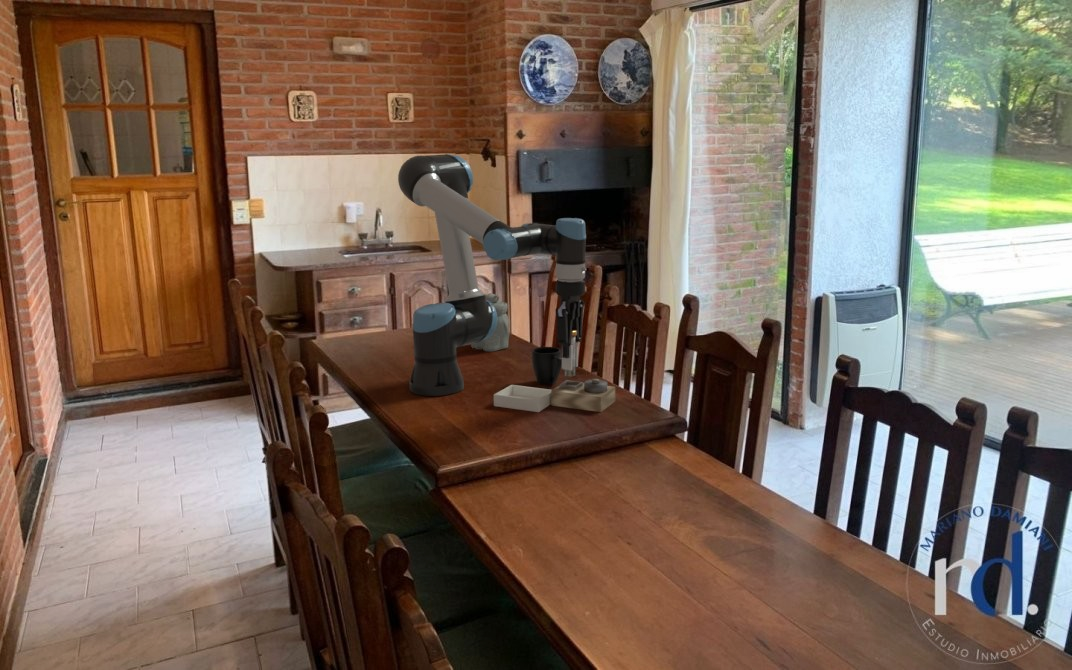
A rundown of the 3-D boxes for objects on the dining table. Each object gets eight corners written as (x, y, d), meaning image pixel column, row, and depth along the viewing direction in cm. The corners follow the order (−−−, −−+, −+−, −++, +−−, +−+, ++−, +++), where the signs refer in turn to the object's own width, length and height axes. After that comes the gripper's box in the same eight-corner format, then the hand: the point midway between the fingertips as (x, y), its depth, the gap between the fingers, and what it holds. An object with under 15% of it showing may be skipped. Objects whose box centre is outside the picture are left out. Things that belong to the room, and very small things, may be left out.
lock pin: (560, 375, 225) (560, 331, 223) (566, 372, 228) (566, 328, 226) (573, 377, 224) (573, 332, 221) (578, 374, 227) (579, 329, 224)
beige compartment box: (551, 405, 225) (550, 380, 223) (567, 395, 233) (566, 370, 232) (600, 412, 219) (601, 386, 217) (615, 401, 227) (615, 376, 226)
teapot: (461, 342, 295) (459, 288, 291) (505, 340, 298) (504, 286, 293) (465, 354, 279) (463, 297, 275) (511, 351, 282) (510, 295, 278)
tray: (493, 405, 225) (493, 394, 224) (511, 395, 234) (511, 384, 233) (538, 412, 219) (538, 400, 218) (555, 401, 228) (555, 390, 227)
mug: (546, 391, 237) (545, 357, 235) (527, 380, 248) (527, 348, 246) (572, 387, 241) (572, 354, 239) (553, 377, 251) (552, 345, 249)
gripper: (571, 285, 212) (570, 377, 217) (595, 275, 225) (594, 362, 231) (543, 283, 215) (543, 373, 220) (569, 273, 229) (569, 358, 234)
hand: (569, 367), depth 226 cm, fingers closed on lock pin, 3 cm apart
